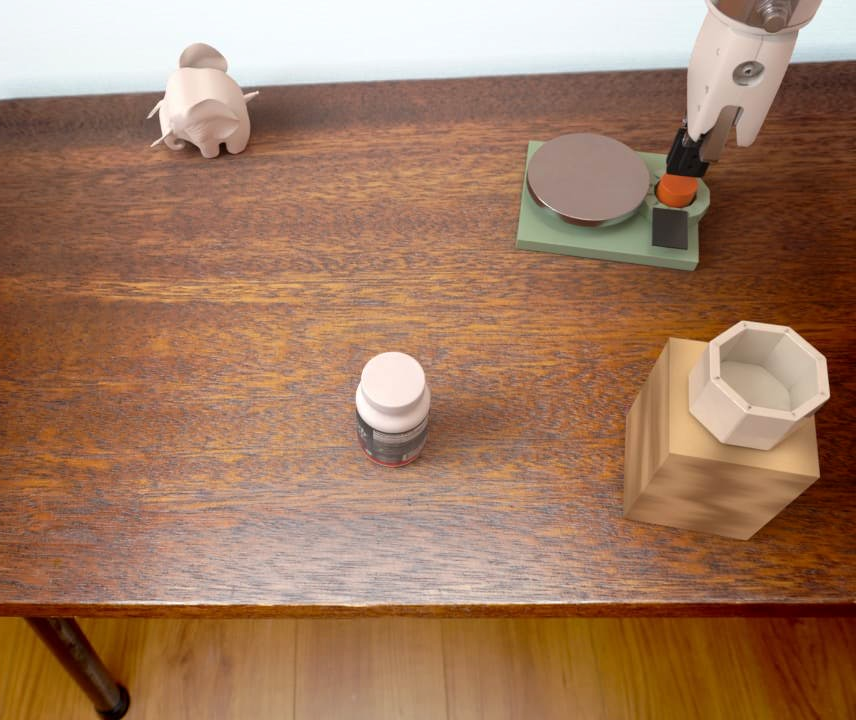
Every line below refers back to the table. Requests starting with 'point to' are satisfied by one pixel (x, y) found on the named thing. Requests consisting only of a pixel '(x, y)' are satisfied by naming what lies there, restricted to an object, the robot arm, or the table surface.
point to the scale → (613, 227)
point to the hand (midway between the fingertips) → (683, 169)
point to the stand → (704, 460)
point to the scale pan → (598, 186)
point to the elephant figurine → (203, 104)
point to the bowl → (757, 384)
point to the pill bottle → (392, 409)
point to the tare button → (676, 190)
